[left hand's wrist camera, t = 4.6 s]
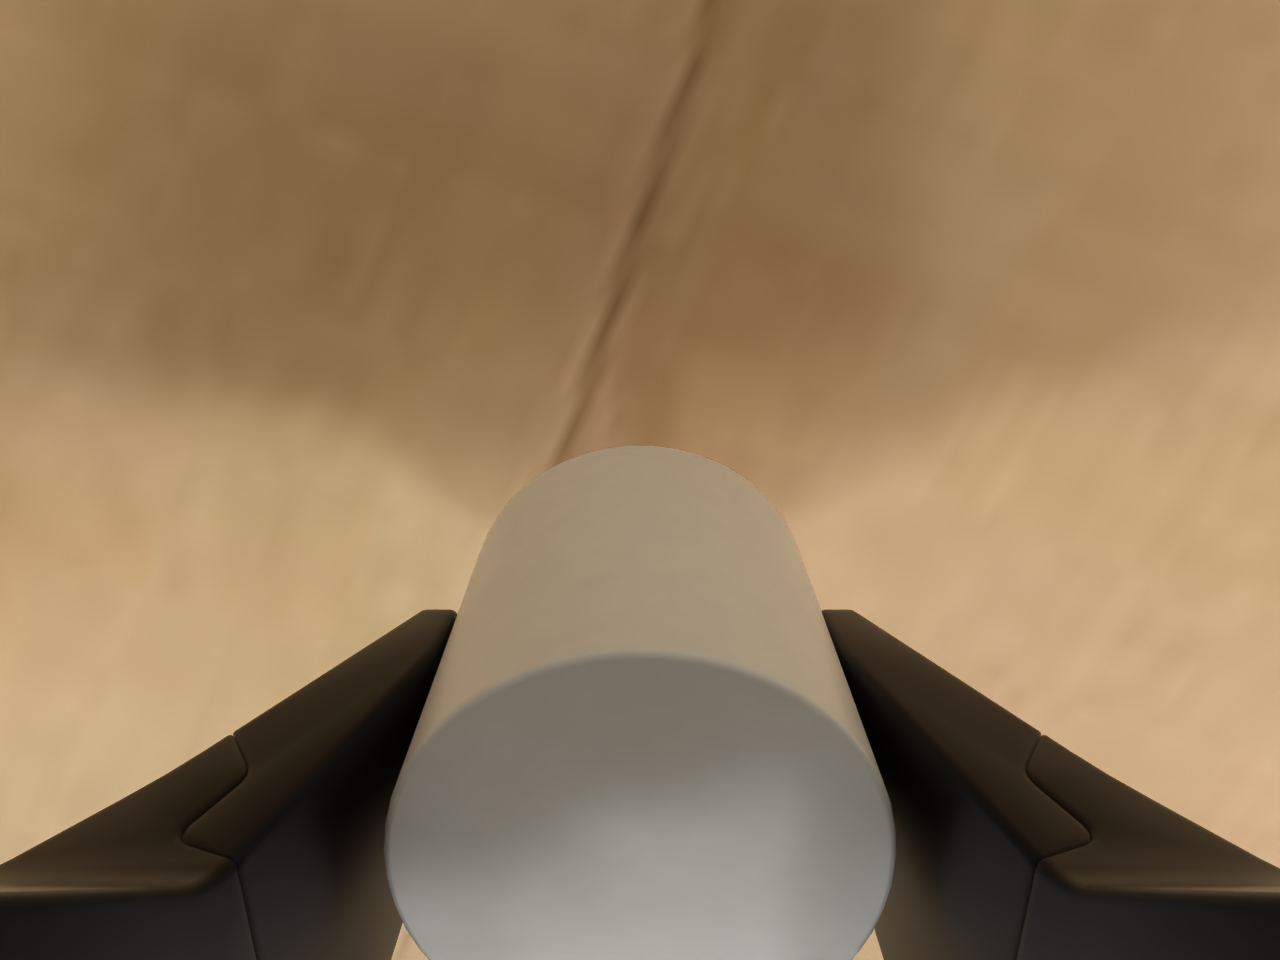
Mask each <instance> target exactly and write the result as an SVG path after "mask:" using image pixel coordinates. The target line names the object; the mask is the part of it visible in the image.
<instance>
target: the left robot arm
mask: <svg viewBox="0 0 1280 960" xmlns="http://www.w3.org/2000/svg"><path fill="white" fill-rule="evenodd" d="M821 612H822V615H823V617H824V620H825V623H826V626H827V628H828V631H829V634H830V636H831V639H832V642H833V645H834V647H835V650H836V653H837V656H838V658H839V661H840V664H841V667H842V669H843V672H844V675H845V678H846V680H847V683H848V686H849V689H850V691H851V694H852V697H853V700H854V702H855V705H856V708H857V711H858V713H859V716H860V719H861V722H862V724H863V727H864V730H865V733H866V735H867V738H868V741H869V744H870V746H871V749H872V752H873V755H874V757H875V760H876V763H877V766H878V768H879V771H880V774H881V777H882V779H883V782H884V785H885V788H886V790H887V793H888V796H889V799H890V801H891V805H892V811H893V816H894V821H895V827H896V861H895V867H894V874H893V880H892V885H891V888H890V891H889V894H888V898H887V901H886V904H885V907H884V910H883V912H882V914H881V916H880V918H879V920H878V922H877V924H876V926H875V927H874V929H875V932H876V936H877V939H878V942H879V945H880V948H881V952H882V955H883V958H884V960H1280V868H1278V867H1276V866H1274V865H1272V864H1270V863H1268V862H1266V861H1264V860H1262V859H1260V858H1258V857H1256V856H1254V855H1252V854H1250V853H1249V852H1247V851H1245V850H1243V849H1241V848H1240V847H1238V846H1236V845H1234V844H1232V843H1230V842H1229V841H1227V840H1225V839H1223V838H1221V837H1219V836H1218V835H1216V834H1214V833H1212V832H1210V831H1208V830H1207V829H1205V828H1203V827H1201V826H1199V825H1198V824H1196V823H1194V822H1192V821H1190V820H1188V819H1187V818H1185V817H1183V816H1181V815H1179V814H1177V813H1176V812H1174V811H1172V810H1170V809H1168V808H1166V807H1165V806H1163V805H1161V804H1159V803H1157V802H1156V801H1154V800H1152V799H1150V798H1148V797H1147V796H1145V795H1143V794H1141V793H1139V792H1138V791H1136V790H1134V789H1132V788H1131V787H1129V786H1127V785H1125V784H1124V783H1122V782H1120V781H1118V780H1117V779H1115V778H1113V777H1111V776H1109V775H1108V774H1106V773H1104V772H1103V771H1101V770H1100V769H1098V768H1096V767H1095V766H1093V765H1092V764H1090V763H1088V762H1087V761H1085V760H1083V759H1082V758H1080V757H1079V756H1077V755H1075V754H1074V753H1072V752H1071V751H1069V750H1067V749H1066V748H1064V747H1063V746H1061V745H1060V744H1058V743H1057V742H1055V741H1054V740H1052V739H1051V738H1049V737H1048V736H1046V735H1042V736H1041V733H1040V732H1039V731H1038V730H1036V729H1035V728H1033V727H1032V726H1030V725H1029V724H1027V723H1026V722H1024V721H1023V720H1021V719H1020V718H1018V717H1016V716H1015V715H1013V714H1012V713H1010V712H1009V711H1007V710H1006V709H1004V708H1003V707H1001V706H999V705H998V704H996V703H995V702H993V701H992V700H990V699H989V698H987V697H986V696H984V695H983V694H981V693H979V692H978V691H976V690H975V689H973V688H972V687H970V686H969V685H967V684H966V683H964V682H962V681H961V680H959V679H958V678H956V677H955V676H953V675H952V674H950V673H949V672H947V671H946V670H944V669H942V668H941V667H939V666H938V665H936V664H935V663H933V662H932V661H930V660H929V659H927V658H926V657H924V656H922V655H921V654H919V653H918V652H916V651H915V650H913V649H912V648H910V647H909V646H907V645H905V644H904V643H902V642H901V641H899V640H898V639H896V638H895V637H893V636H892V635H890V634H889V633H887V632H885V631H884V630H882V629H881V628H879V627H878V626H876V625H875V624H873V623H872V622H870V621H869V620H867V619H865V618H864V617H862V616H861V615H859V614H858V613H856V612H854V611H853V610H823V611H821ZM456 617H457V613H456V612H455V611H453V610H423V611H421V612H420V613H418V614H417V615H415V616H413V617H412V618H410V619H409V620H407V621H406V622H404V623H403V624H401V625H399V626H398V627H396V628H395V629H393V630H392V631H390V632H389V633H387V634H386V635H384V636H382V637H381V638H379V639H378V640H376V641H375V642H373V643H372V644H370V645H368V646H367V647H365V648H364V649H362V650H361V651H359V652H358V653H356V654H354V655H353V656H351V657H350V658H348V659H347V660H345V661H344V662H342V663H340V664H339V665H337V666H336V667H334V668H333V669H331V670H330V671H328V672H327V673H325V674H323V675H322V676H320V677H319V678H317V679H316V680H314V681H313V682H311V683H309V684H308V685H306V686H305V687H303V688H302V689H300V690H299V691H297V692H295V693H294V694H292V695H291V696H289V697H288V698H286V699H285V700H283V701H281V702H280V703H278V704H277V705H275V706H274V707H272V708H271V709H269V710H267V711H266V712H264V713H263V714H261V715H260V716H258V717H257V718H255V719H253V720H252V721H250V722H249V723H247V724H246V725H244V726H242V727H241V728H239V729H238V730H236V731H235V732H234V733H233V736H232V735H228V736H227V737H225V738H224V739H222V740H221V741H219V742H217V743H216V744H214V745H213V746H211V747H210V748H208V749H207V750H205V751H203V752H202V753H200V754H199V755H197V756H195V757H194V758H192V759H190V760H189V761H187V762H186V763H184V764H182V765H181V766H179V767H177V768H176V769H174V770H173V771H171V772H169V773H168V774H166V775H164V776H163V777H161V778H159V779H157V780H155V781H154V782H152V783H150V784H148V785H146V786H145V787H143V788H141V789H139V790H138V791H136V792H134V793H132V794H130V795H129V796H127V797H125V798H123V799H122V800H120V801H118V802H116V803H114V804H112V805H110V806H109V807H107V808H105V809H103V810H101V811H99V812H98V813H96V814H94V815H92V816H90V817H88V818H87V819H85V820H83V821H81V822H79V823H77V824H76V825H74V826H72V827H70V828H68V829H66V830H65V831H63V832H61V833H59V834H57V835H55V836H53V837H52V838H50V839H48V840H46V841H44V842H42V843H41V844H39V845H37V846H35V847H33V848H31V849H30V850H28V851H26V852H24V853H22V854H20V855H19V856H17V857H15V858H13V859H11V860H9V861H7V862H5V863H3V864H1V865H0V960H391V958H392V955H393V952H394V948H395V945H396V942H397V939H398V936H399V933H400V929H401V926H402V923H403V921H402V919H401V917H400V914H399V912H398V910H397V908H396V906H395V903H394V900H393V896H392V893H391V889H390V886H389V882H388V879H387V873H386V864H385V856H384V836H385V822H386V817H387V813H388V809H389V804H390V800H391V796H392V793H393V790H394V788H395V785H396V782H397V779H398V777H399V774H400V771H401V768H402V766H403V763H404V760H405V757H406V755H407V752H408V749H409V747H410V744H411V741H412V738H413V736H414V733H415V730H416V727H417V725H418V722H419V719H420V716H421V714H422V711H423V708H424V705H425V703H426V700H427V697H428V694H429V692H430V689H431V686H432V683H433V681H434V678H435V675H436V672H437V670H438V667H439V664H440V661H441V659H442V656H443V653H444V650H445V648H446V645H447V642H448V639H449V637H450V634H451V631H452V628H453V626H454V623H455V620H456Z"/></svg>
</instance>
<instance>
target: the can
mask: <svg viewBox="0 0 1280 960" xmlns="http://www.w3.org/2000/svg"><path fill="white" fill-rule="evenodd" d="M384 856H385V864H386V873H387V879H388V882H389V886H390V889H391V893H392V896H393V900H394V903H395V906H396V908H397V910H398V912H399V914H400V917H401V919H402V921H403V923H404V925H405V927H406V929H407V931H408V932H409V934H410V935H411V937H412V938H413V940H414V941H415V943H416V944H417V946H418V947H419V949H420V950H421V951H422V952H423V954H424V955H425V956H426V957H427V958H428V959H429V960H852V959H853V958H854V957H855V956H856V954H857V953H858V952H859V950H860V949H861V947H862V946H863V945H864V943H865V942H866V940H867V939H868V938H869V936H870V935H871V933H872V931H873V929H874V927H875V926H876V924H877V922H878V920H879V918H880V916H881V914H882V912H883V910H884V907H885V904H886V901H887V898H888V894H889V891H890V888H891V885H892V880H893V874H894V867H895V861H896V827H895V821H894V816H893V811H892V805H891V801H890V799H889V796H888V793H887V790H886V788H885V785H884V782H883V779H882V777H881V774H880V771H879V768H878V766H877V763H876V760H875V757H874V755H873V752H872V749H871V746H870V744H869V741H868V738H867V735H866V733H865V730H864V727H863V724H862V722H861V719H860V716H859V713H858V711H857V708H856V705H855V702H854V700H853V697H852V694H851V691H850V689H849V686H848V683H847V680H846V678H845V675H844V672H843V669H842V667H841V664H840V661H839V658H838V656H837V653H836V650H835V647H834V645H833V642H832V639H831V636H830V634H829V631H828V628H827V626H826V623H825V620H824V617H823V615H822V612H821V609H820V606H819V604H818V601H817V598H816V595H815V593H814V590H813V587H812V584H811V582H810V579H809V576H808V573H807V571H806V568H805V565H804V562H803V560H802V557H801V554H800V551H799V549H798V546H797V543H796V541H795V538H794V536H793V534H792V532H791V530H790V528H789V527H788V525H787V523H786V521H785V519H784V518H783V517H782V515H781V514H780V513H779V511H778V510H777V509H776V507H775V506H774V505H773V503H772V502H771V501H770V500H769V499H768V498H767V497H766V496H765V495H764V494H763V493H762V492H761V491H760V490H759V489H758V488H757V487H756V486H754V485H753V484H752V483H750V482H749V481H748V480H746V479H745V478H744V477H742V476H741V475H740V474H738V473H736V472H735V471H733V470H731V469H729V468H728V467H726V466H724V465H722V464H721V463H718V462H716V461H713V460H711V459H708V458H706V457H703V456H701V455H698V454H694V453H691V452H687V451H683V450H679V449H674V448H667V447H660V446H637V445H630V446H621V447H612V448H606V449H602V450H597V451H593V452H589V453H585V454H582V455H580V456H577V457H575V458H572V459H569V460H567V461H564V462H562V463H560V464H558V465H557V466H555V467H553V468H551V469H549V470H547V471H545V472H544V473H542V474H541V475H540V476H538V477H537V478H535V479H534V480H532V481H531V482H530V483H528V484H527V485H526V486H525V487H524V488H523V489H522V490H521V491H519V492H518V493H517V494H516V495H515V496H514V497H513V498H512V499H511V500H510V501H509V503H508V504H507V505H506V506H505V508H504V509H503V510H502V511H501V513H500V514H499V515H498V517H497V519H496V520H495V522H494V524H493V525H492V527H491V529H490V530H489V532H488V534H487V537H486V539H485V542H484V544H483V547H482V549H481V551H480V554H479V557H478V560H477V562H476V565H475V568H474V571H473V573H472V576H471V579H470V582H469V584H468V587H467V590H466V593H465V595H464V598H463V601H462V604H461V606H460V609H459V612H458V615H457V617H456V620H455V623H454V626H453V628H452V631H451V634H450V637H449V639H448V642H447V645H446V648H445V650H444V653H443V656H442V659H441V661H440V664H439V667H438V670H437V672H436V675H435V678H434V681H433V683H432V686H431V689H430V692H429V694H428V697H427V700H426V703H425V705H424V708H423V711H422V714H421V716H420V719H419V722H418V725H417V727H416V730H415V733H414V736H413V738H412V741H411V744H410V747H409V749H408V752H407V755H406V757H405V760H404V763H403V766H402V768H401V771H400V774H399V777H398V779H397V782H396V785H395V788H394V790H393V793H392V796H391V800H390V804H389V809H388V813H387V817H386V822H385V836H384Z"/></svg>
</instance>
